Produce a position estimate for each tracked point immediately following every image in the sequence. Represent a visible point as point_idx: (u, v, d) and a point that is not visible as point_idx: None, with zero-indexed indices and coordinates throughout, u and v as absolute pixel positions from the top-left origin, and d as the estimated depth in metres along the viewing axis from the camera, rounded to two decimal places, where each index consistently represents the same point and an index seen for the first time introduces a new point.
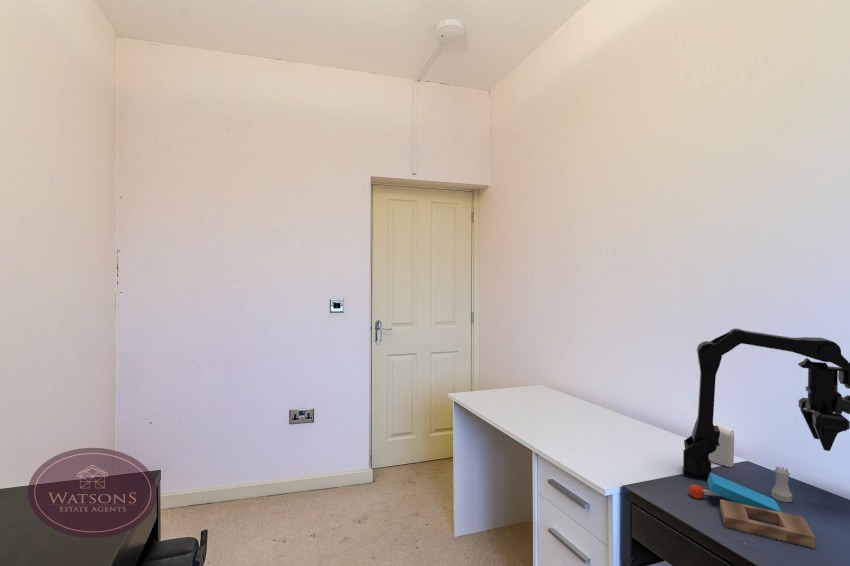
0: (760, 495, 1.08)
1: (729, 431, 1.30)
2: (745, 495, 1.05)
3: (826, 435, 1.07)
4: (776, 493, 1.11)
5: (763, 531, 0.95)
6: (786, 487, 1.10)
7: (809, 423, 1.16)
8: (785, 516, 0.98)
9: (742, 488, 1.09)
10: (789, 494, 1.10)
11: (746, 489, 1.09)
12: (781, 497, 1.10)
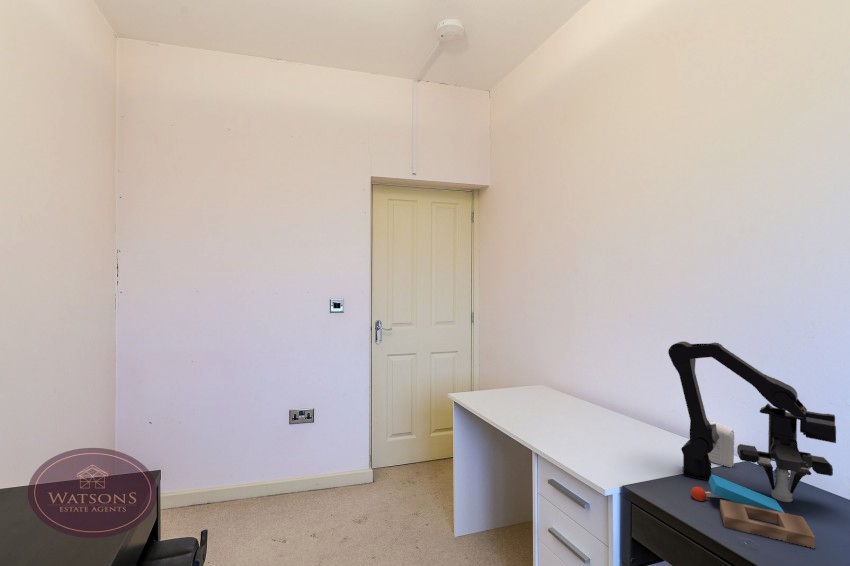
0: (761, 496, 1.07)
1: (729, 431, 1.30)
2: (748, 496, 1.05)
3: None
4: (776, 493, 1.11)
5: (763, 531, 0.95)
6: (786, 487, 1.10)
7: (791, 476, 1.12)
8: (785, 516, 0.98)
9: (744, 489, 1.08)
10: (789, 494, 1.10)
11: (748, 490, 1.09)
12: (781, 497, 1.10)
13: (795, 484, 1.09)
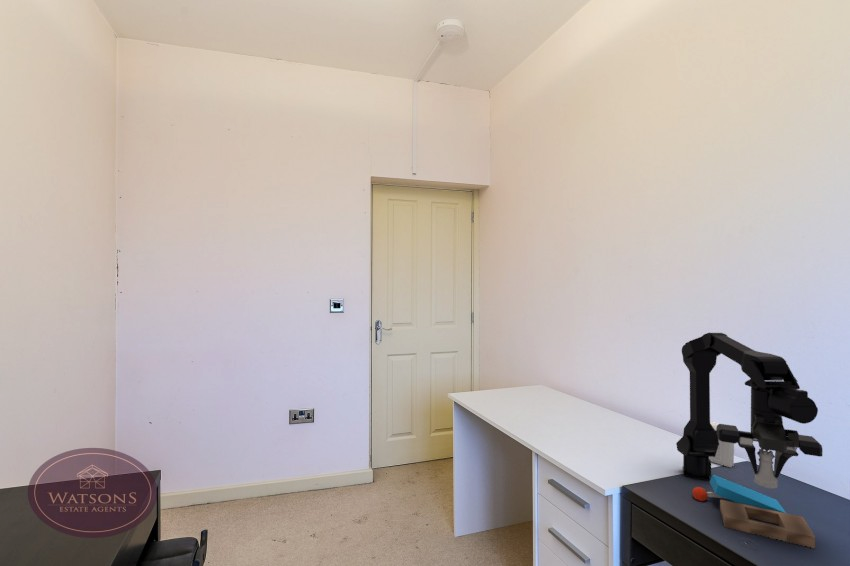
0: (763, 496, 1.07)
1: None
2: (749, 497, 1.05)
3: None
4: (759, 478, 0.98)
5: (763, 531, 0.95)
6: (770, 471, 0.97)
7: (776, 458, 0.99)
8: (785, 516, 0.98)
9: (745, 489, 1.08)
10: (774, 479, 0.97)
11: (749, 490, 1.08)
12: (765, 483, 0.97)
13: (780, 467, 0.97)
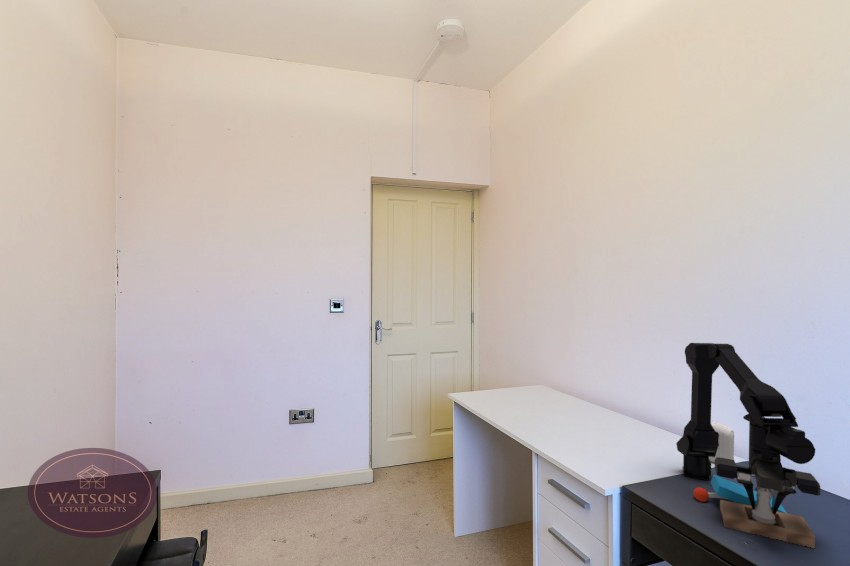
0: None
1: (729, 431, 1.30)
2: None
3: None
4: (757, 514, 0.98)
5: (763, 531, 0.95)
6: (768, 508, 0.97)
7: (774, 494, 0.99)
8: (785, 516, 0.98)
9: None
10: (771, 516, 0.97)
11: None
12: (762, 519, 0.97)
13: (778, 504, 0.96)
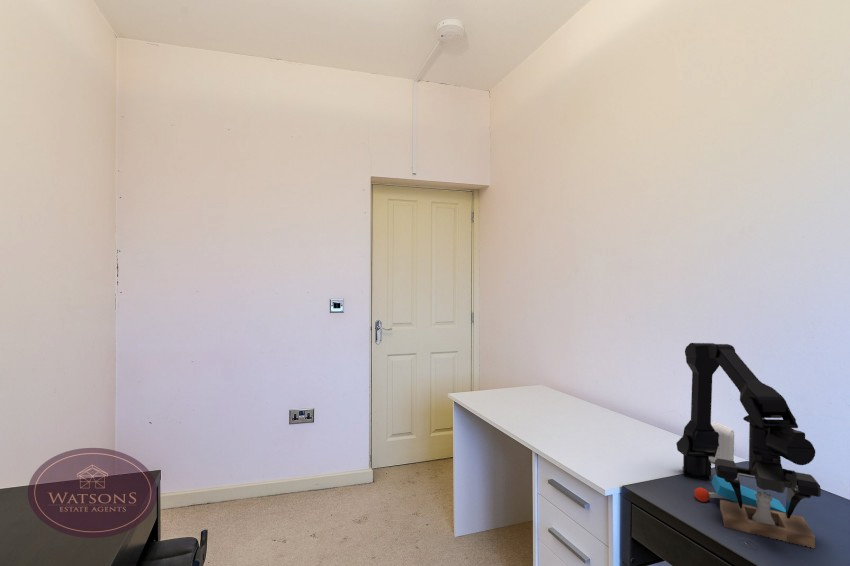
0: None
1: (729, 431, 1.30)
2: (752, 497, 1.04)
3: None
4: None
5: (763, 531, 0.95)
6: (768, 514, 0.97)
7: (787, 498, 0.97)
8: (785, 516, 0.98)
9: (747, 490, 1.08)
10: (771, 523, 0.97)
11: (751, 490, 1.08)
12: None
13: (792, 508, 0.95)
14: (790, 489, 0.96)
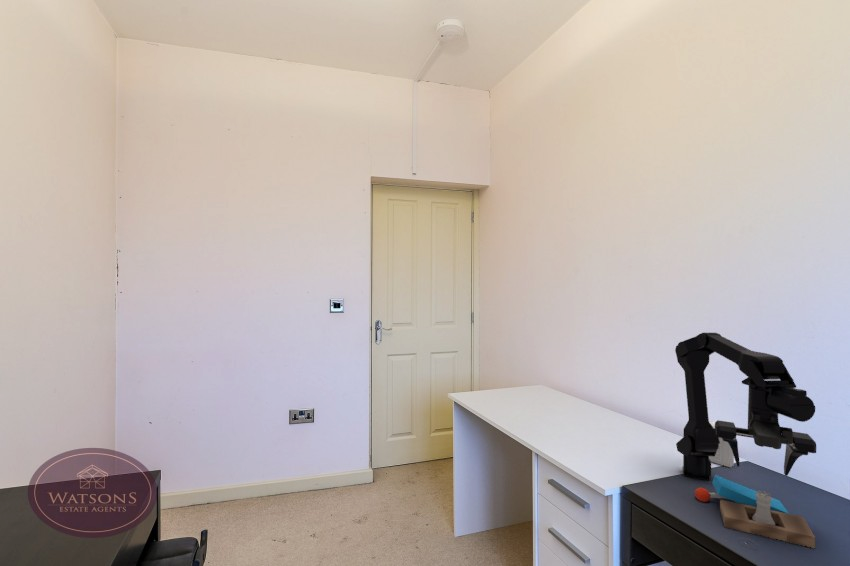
0: None
1: None
2: (752, 497, 1.04)
3: None
4: None
5: (763, 531, 0.95)
6: (768, 514, 0.97)
7: (786, 457, 1.01)
8: (785, 516, 0.98)
9: (748, 490, 1.08)
10: (771, 523, 0.97)
11: (751, 491, 1.08)
12: None
13: (790, 465, 0.99)
14: (788, 448, 1.00)
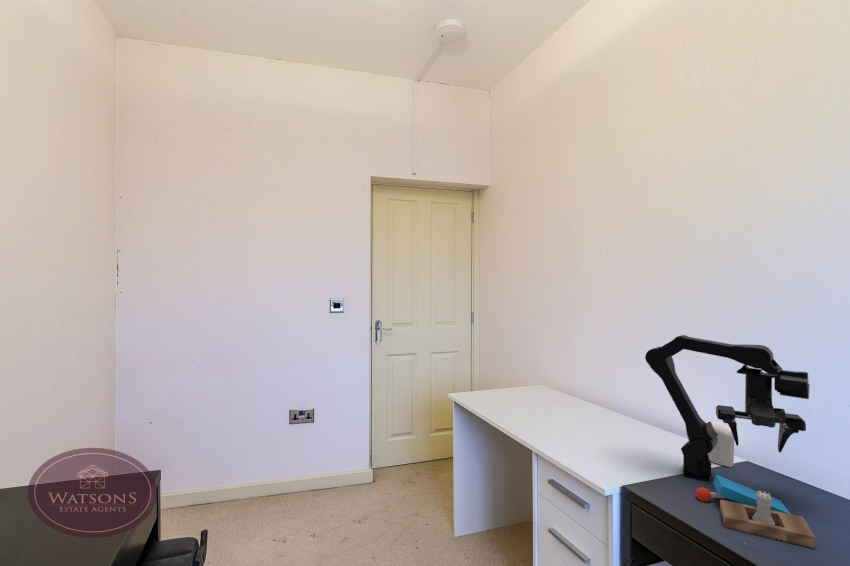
0: None
1: (729, 431, 1.30)
2: (753, 497, 1.04)
3: None
4: None
5: (763, 531, 0.95)
6: (768, 514, 0.97)
7: (779, 436, 1.14)
8: (785, 516, 0.98)
9: (749, 490, 1.08)
10: (771, 523, 0.97)
11: (753, 491, 1.08)
12: None
13: (783, 443, 1.11)
14: (781, 427, 1.13)
